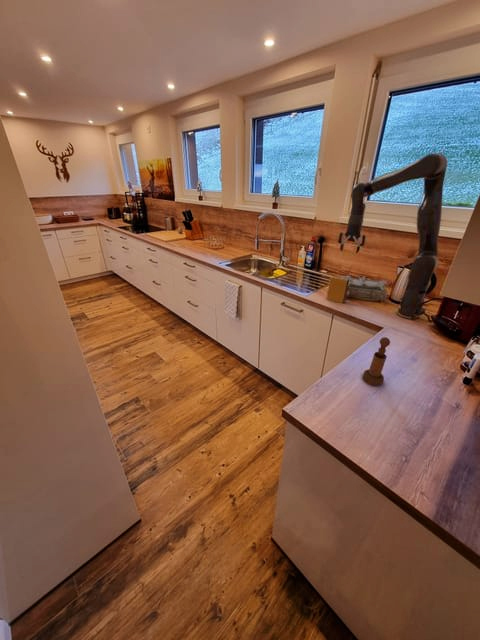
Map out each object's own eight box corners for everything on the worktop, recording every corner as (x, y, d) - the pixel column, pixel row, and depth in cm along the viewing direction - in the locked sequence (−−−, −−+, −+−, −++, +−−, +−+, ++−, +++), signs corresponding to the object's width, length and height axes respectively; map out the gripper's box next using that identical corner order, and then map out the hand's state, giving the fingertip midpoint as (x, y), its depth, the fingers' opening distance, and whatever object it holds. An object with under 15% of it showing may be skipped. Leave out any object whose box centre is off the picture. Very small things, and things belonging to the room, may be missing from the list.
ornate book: (337, 299, 160) (392, 304, 152) (340, 284, 156) (396, 289, 148) (337, 286, 179) (385, 290, 171) (339, 273, 175) (389, 276, 166)
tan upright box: (344, 301, 156) (349, 279, 149) (343, 303, 153) (348, 280, 147) (327, 297, 160) (331, 275, 154) (326, 299, 158) (330, 277, 151)
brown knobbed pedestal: (365, 385, 93) (378, 342, 84) (360, 373, 99) (372, 332, 90) (384, 387, 92) (400, 344, 83) (379, 375, 98) (393, 334, 89)
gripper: (340, 222, 148) (335, 251, 155) (367, 224, 141) (360, 254, 149) (343, 220, 153) (338, 248, 161) (370, 223, 147) (363, 252, 154)
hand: (349, 251), depth 155 cm, fingers open, 8 cm apart
